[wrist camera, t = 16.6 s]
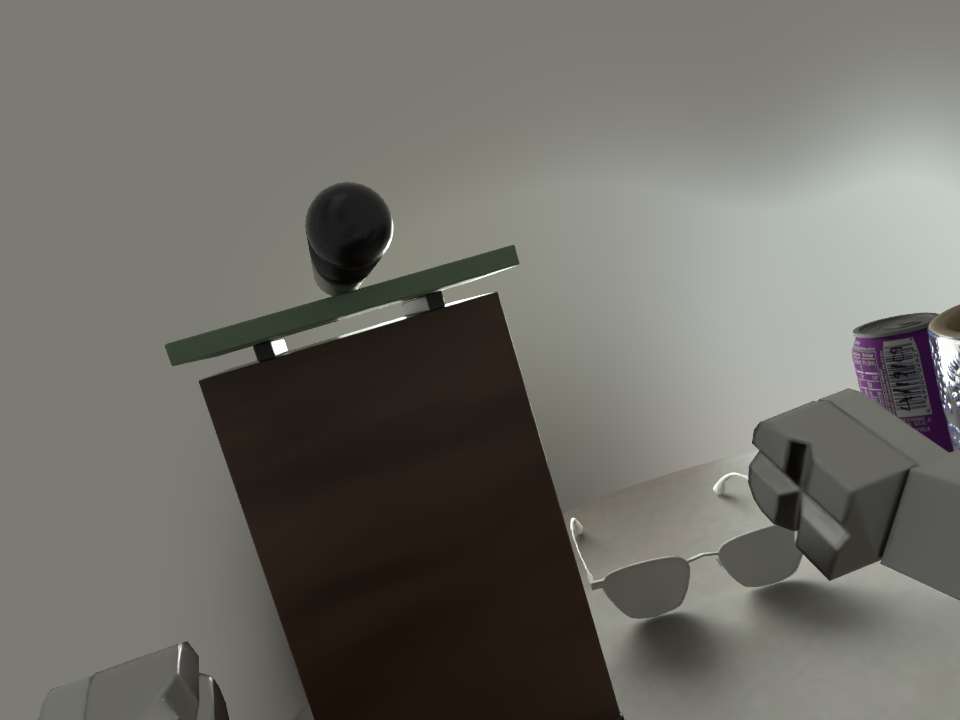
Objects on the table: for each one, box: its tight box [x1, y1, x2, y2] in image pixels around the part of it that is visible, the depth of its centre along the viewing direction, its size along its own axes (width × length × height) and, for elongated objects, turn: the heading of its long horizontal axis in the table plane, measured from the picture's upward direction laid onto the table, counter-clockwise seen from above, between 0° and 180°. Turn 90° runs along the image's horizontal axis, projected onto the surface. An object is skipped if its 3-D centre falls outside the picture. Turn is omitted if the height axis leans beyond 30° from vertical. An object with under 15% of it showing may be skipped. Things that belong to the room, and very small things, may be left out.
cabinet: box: [199, 291, 624, 720], centre depth 37 cm, size 10×14×25 cm
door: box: [165, 182, 519, 366], centre depth 24 cm, size 20×13×3 cm, turn 13°
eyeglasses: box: [570, 473, 803, 619], centre depth 54 cm, size 15×18×4 cm
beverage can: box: [852, 313, 954, 453], centre depth 56 cm, size 7×7×12 cm
